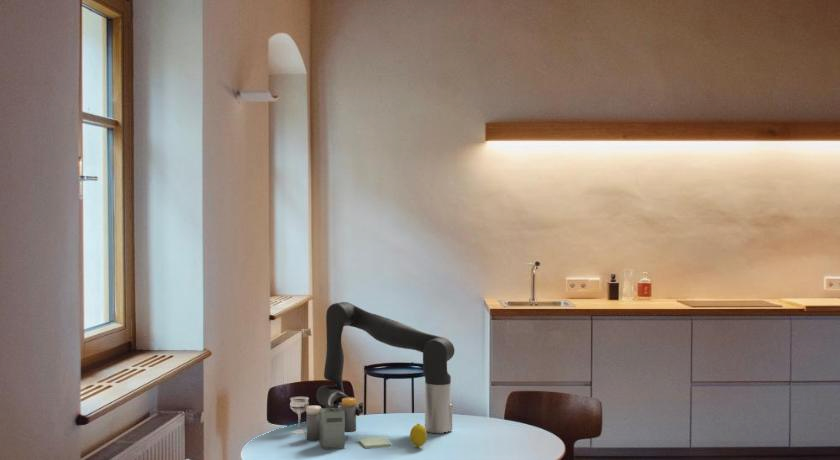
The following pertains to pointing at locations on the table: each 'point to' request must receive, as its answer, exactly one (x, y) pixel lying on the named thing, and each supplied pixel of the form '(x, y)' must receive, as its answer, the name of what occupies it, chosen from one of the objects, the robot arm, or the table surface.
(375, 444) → the pad
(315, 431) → the cylinder
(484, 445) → the table surface
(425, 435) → the lemon
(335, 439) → the unit
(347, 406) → the cylinder
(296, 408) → the wineglass
